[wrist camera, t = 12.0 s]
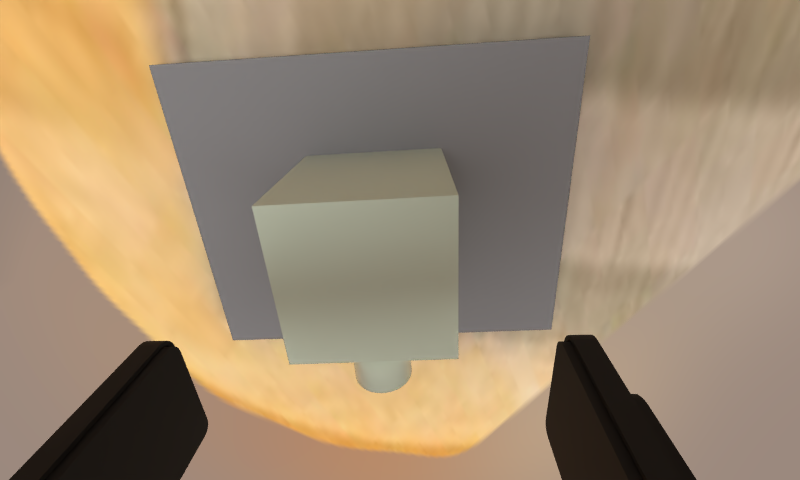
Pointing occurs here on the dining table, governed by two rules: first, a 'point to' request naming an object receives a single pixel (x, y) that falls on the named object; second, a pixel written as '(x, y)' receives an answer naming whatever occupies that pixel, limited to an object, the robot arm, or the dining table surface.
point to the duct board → (389, 131)
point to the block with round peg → (365, 261)
